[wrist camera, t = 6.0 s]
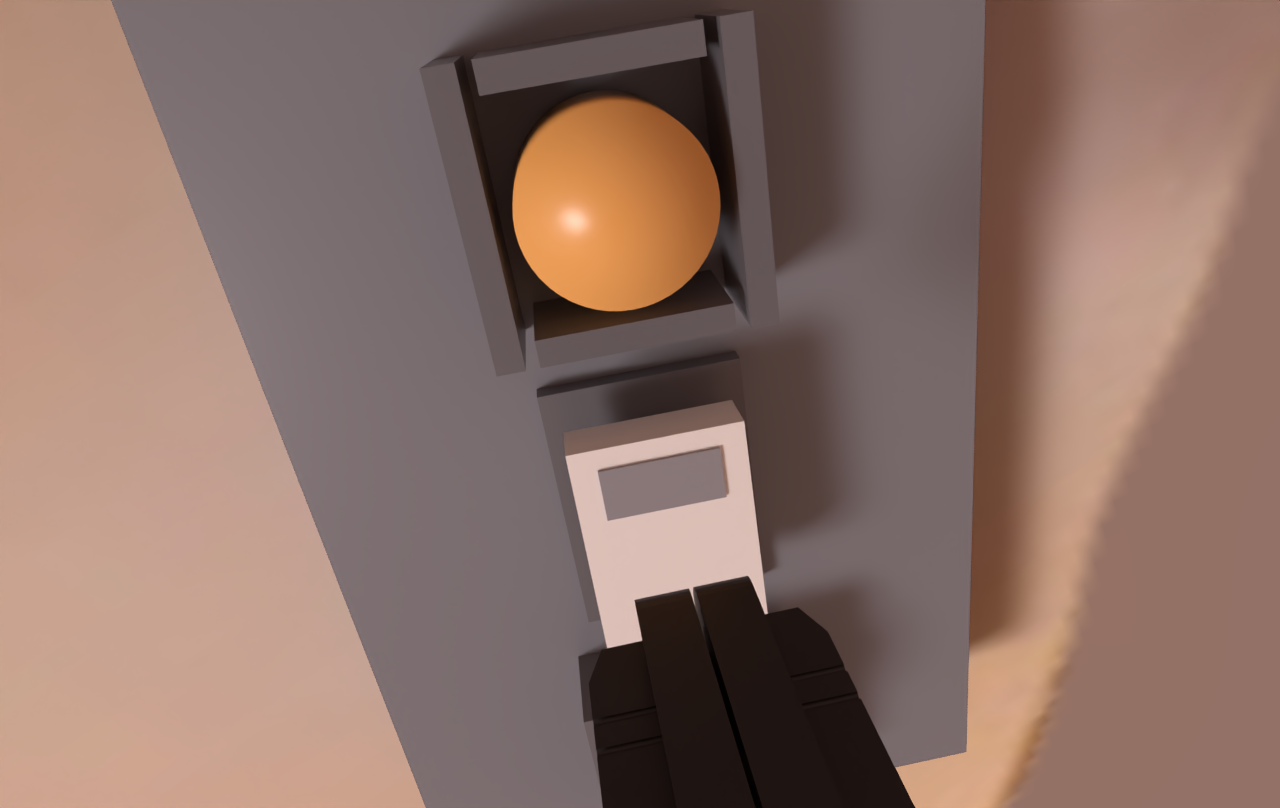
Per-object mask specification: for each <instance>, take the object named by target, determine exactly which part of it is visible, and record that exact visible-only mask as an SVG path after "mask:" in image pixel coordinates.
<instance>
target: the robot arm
mask: <svg viewBox="0 0 1280 808" xmlns="http://www.w3.org/2000/svg"><path fill="white" fill-rule="evenodd" d="M693 596H694V602H693V598H692V595H691V592H690V590H689V588H688V589H683V590H678V591H674V592H669V593H664V594H659V595H655V596H650V597H645V598H641V599H636V600H634V601H635V606H636V611H637V616H638V622H639V627H640V632H641V637H642V641H639V642H634V643H630V644H625V645H620V646H616V647H611V648H606V649H602V650H601V652H600V655H599V657H598V660H597V663H596V665H595V668H594V671H593V673H592V676H591V679H590V681H589V692H590V701H591V709H592V718H593V724H594V736H595V744H596V751H597V762H598V771H599V779H600V788H601V797H602V806H603V808H915V806H914V805H913V803H912V801H911V799H910V797H909V795H908V793H907V791H906V789H905V787H904V785H903V783H902V781H901V779H900V776H899V774H898V772H897V770H896V768H895V766H894V764H893V762H892V760H891V758H890V756H889V754H888V752H887V750H886V748H885V746H884V744H883V742H882V740H881V738H880V736H879V734H878V732H877V730H876V728H875V726H874V724H873V722H872V720H871V718H870V716H869V714H868V712H867V710H866V708H865V706H864V704H863V702H862V700H861V699H859V696H858V692H857V689H856V687H855V685H854V683H853V681H852V679H851V677H850V675H849V673H848V671H846V670H845V667H844V663H843V661H842V659H841V657H840V655H839V653H838V651H837V649H836V647H835V645H834V643H833V641H832V639H831V637H830V635H829V633H828V631H827V630H825V629H824V628H823V627H822V626H820V625H819V624H818V623H817V622H816V621H814V620H813V619H812V618H811V617H810V616H808V615H807V614H806V613H805V612H803V611H802V610H801V609H800V608H799V607H796V608H792V609H787V610H782V611H778V612H773V613H768V614H765V613H764V611H763V608H762V606H761V603H760V601H759V598H758V596H757V593H756V591H755V588H754V586H753V584H752V581H751V579H750V578H749V576H743V577H739V578H734V579H729V580H725V581H720V582H715V583H710V584H706V585H701V586H696V587H693ZM694 603H695V605H694Z"/></svg>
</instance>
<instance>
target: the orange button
mask: <svg viewBox="0 0 1280 808" xmlns="http://www.w3.org/2000/svg"><path fill="white" fill-rule="evenodd" d="M512 205H513V222H514V229H515V233H516V237H517V240H518V243H519V246H520V248H521V250H522V253H523V255H524V257H525V259H526V260H527V262H528V264H529V265H530V267H531V268H532V270H533V271H534V272H535V273H536V275H537V276H538V277H539V278H540V279H541V280H542V281H543V282H544V283H545V284H546V285H547V286H548V287H549V288H550V289H552V290H553V291H555V292H556V293H557V294H559V295H560V296H562V297H564V298H566V299H567V300H569V301H571V302H573V303H576V304H578V305H581V306H584V307H588V308H592V309H595V310H603V311H626V310H634V309H638V308H642V307H646V306H649V305H651V304H654V303H656V302H659V301H661V300H663V299H665V298H666V297H668V296H670V295H671V294H673V293H674V292H676V291H677V290H679V289H680V288H681V287H682V286H683V285H684V284H686V283H687V282H688V281H689V280H690V279H691V278H692V277H693V275H694V274H695V273H696V272H697V271H698V270H699V268H700V267H701V265H702V264H703V262H704V261H705V259H706V258H707V256H708V254H709V252H710V250H711V248H712V245H713V242H714V240H715V237H716V234H717V229H718V225H719V219H720V207H721V206H720V191H719V185H718V180H717V177H716V173H715V170H714V167H713V165H712V163H711V161H710V159H709V156H708V154H707V153H706V151H705V150H704V148H703V147H702V145H701V143H700V142H699V141H698V140H697V139H696V137H695V136H694V135H693V134H692V133H691V132H690V131H689V130H688V129H687V128H686V127H685V126H683V125H682V124H681V123H680V122H679V121H677V120H676V119H675V118H673V117H672V116H671V115H670V114H668V113H667V112H666V111H664V110H663V109H662V108H660V107H659V106H657V105H656V104H654V103H653V102H651V101H649V100H647V99H645V98H643V97H640V96H637V95H634V94H631V93H627V92H622V91H614V90H600V91H591V92H587V93H583V94H579V95H576V96H574V97H571V98H569V99H566V100H565V101H563V102H561V103H559V104H558V105H556V106H555V107H553V108H552V109H551V110H549V111H548V112H547V113H546V114H545V115H544V116H543V117H542V118H541V119H540V120H539V121H538V122H537V123H536V124H535V125H534V127H533V128H532V129H531V131H530V132H529V134H528V135H527V137H526V139H525V141H524V143H523V144H522V147H521V150H520V152H519V155H518V158H517V162H516V166H515V172H514V182H513V203H512Z"/></svg>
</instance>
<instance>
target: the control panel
mask: <svg viewBox="0 0 1280 808" xmlns="http://www.w3.org/2000/svg"><path fill="white" fill-rule="evenodd" d="M111 1H112V4H113V6H114V9H115V11H116V14H117V16H118V19H119V22H120V24H121V27H122V29H123V32H124V34H125V37H126V40H127V42H128V45H129V47H130V50H131V52H132V55H133V57H134V60H135V63H136V65H137V68H138V70H139V73H140V75H141V78H142V81H143V83H144V86H145V88H146V91H147V93H148V96H149V99H150V101H151V104H152V106H153V109H154V111H155V114H156V116H157V119H158V122H159V124H160V127H161V129H162V132H163V134H164V137H165V140H166V142H167V145H168V147H169V150H170V152H171V155H172V158H173V160H174V163H175V165H176V168H177V170H178V173H179V175H180V178H181V181H182V183H183V186H184V188H185V191H186V193H187V196H188V199H189V201H190V204H191V206H192V209H193V211H194V214H195V217H196V219H197V222H198V224H199V227H200V229H201V232H202V234H203V237H204V240H205V242H206V245H207V247H208V250H209V252H210V255H211V258H212V260H213V263H214V265H215V268H216V270H217V273H218V276H219V278H220V281H221V283H222V286H223V288H224V291H225V294H226V296H227V299H228V301H229V304H230V306H231V309H232V311H233V314H234V317H235V319H236V322H237V324H238V327H239V329H240V332H241V335H242V337H243V340H244V342H245V345H246V347H247V350H248V353H249V355H250V358H251V360H252V363H253V365H254V368H255V370H256V373H257V376H258V378H259V381H260V383H261V386H262V388H263V391H264V394H265V396H266V399H267V401H268V404H269V406H270V409H271V412H272V414H273V417H274V419H275V422H276V424H277V427H278V429H279V432H280V435H281V437H282V440H283V442H284V445H285V447H286V450H287V453H288V455H289V458H290V460H291V463H292V465H293V468H294V471H295V473H296V476H297V478H298V481H299V483H300V486H301V488H302V491H303V494H304V496H305V499H306V501H307V504H308V506H309V509H310V512H311V514H312V517H313V519H314V522H315V524H316V527H317V530H318V532H319V535H320V537H321V540H322V542H323V545H324V547H325V550H326V553H327V555H328V558H329V560H330V563H331V565H332V568H333V571H334V573H335V576H336V578H337V581H338V583H339V586H340V589H341V591H342V594H343V596H344V599H345V601H346V604H347V606H348V609H349V612H350V614H351V617H352V619H353V622H354V624H355V627H356V630H357V632H358V635H359V637H360V640H361V642H362V645H363V648H364V650H365V653H366V655H367V658H368V660H369V663H370V665H371V668H372V671H373V673H374V676H375V678H376V681H377V683H378V686H379V689H380V691H381V694H382V696H383V699H384V701H385V704H386V707H387V709H388V712H389V714H390V717H391V719H392V722H393V724H394V727H395V730H396V732H397V735H398V737H399V740H400V742H401V745H402V748H403V750H404V753H405V755H406V758H407V760H408V763H409V766H410V768H411V771H412V773H413V776H414V778H415V781H416V783H417V786H418V789H419V791H420V794H421V796H422V799H423V801H424V804H425V807H426V808H603V806H602V797H601V788H600V779H599V771H598V762H597V751H596V744H595V736H594V724H593V718H592V709H591V701H590V692H589V681H590V679H591V676H592V673H593V671H594V668H595V665H596V663H597V660H598V657H599V655H600V652H601V650H602V649H606V648H607V645H606V640H605V636H604V631H603V627H602V622H601V617H600V613H599V608H598V604H597V599H596V595H595V590H594V585H593V581H592V576H591V572H590V567H589V563H588V558H587V553H586V549H585V544H584V540H583V535H582V531H581V526H580V521H579V517H578V512H577V508H576V503H575V499H574V494H573V489H572V485H571V480H570V476H569V471H568V466H567V462H566V457H565V447H564V435H563V433H564V432H570V431H575V430H580V429H585V428H590V427H595V426H600V425H605V424H611V423H616V422H621V421H626V420H631V419H636V418H641V417H646V416H652V415H657V414H662V413H667V412H672V411H677V410H682V409H687V408H692V407H698V406H703V405H708V404H713V403H718V402H723V401H728V400H732V401H733V402H734V404H735V406H736V408H737V409H738V411H739V413H740V415H741V416H742V418H743V420H744V423H745V432H746V440H747V448H748V456H749V464H750V473H751V481H752V489H753V497H754V505H755V513H756V522H757V530H758V538H759V546H760V554H761V563H762V571H763V579H764V587H765V595H766V604H767V612H768V613H773V612H778V611H782V610H787V609H792V608H796V607H799V608H800V609H801V610H802V611H803V612H805V613H806V614H807V615H808V616H810V617H811V618H812V619H813V620H814V621H816V622H817V623H818V624H819V625H820V626H822V627H823V628H824V629H825V630H827V631H828V633H829V635H830V637H831V639H832V641H833V643H834V645H835V647H836V649H837V651H838V653H839V655H840V657H841V659H842V661H843V663H844V667H845V670H846V671H848V673H849V675H850V677H851V679H852V681H853V683H854V685H855V687H856V689H857V692H858V696H859V699H861V700H862V702H863V704H864V706H865V708H866V710H867V712H868V714H869V716H870V718H871V720H872V722H873V724H874V726H875V728H876V730H877V732H878V734H879V736H880V738H881V740H882V742H883V744H884V746H885V748H886V750H887V752H888V754H889V756H890V758H891V760H892V762H893V764H894V766H895V767H899V766H904V765H908V764H913V763H918V762H922V761H927V760H931V759H936V758H941V757H945V756H950V755H954V754H959V753H964V752H966V744H967V705H968V666H969V627H970V588H971V549H972V510H973V471H974V432H975V393H976V354H977V315H978V276H979V237H980V198H981V159H982V120H983V81H984V42H985V3H986V0H111ZM600 90H614V91H622V92H627V93H631V94H634V95H637V96H640V97H643V98H645V99H647V100H649V101H651V102H653V103H654V104H656V105H657V106H659V107H660V108H662V109H663V110H664V111H666V112H667V113H668V114H670V115H671V116H672V117H673V118H675V119H676V120H677V121H679V122H680V123H681V124H682V125H683V126H685V127H686V128H687V129H688V130H689V131H690V132H691V133H692V134H693V135H694V136H695V137H696V139H697V140H698V141H699V142H700V143H701V145H702V147H703V148H704V150H705V151H706V153H707V154H708V156H709V159H710V161H711V163H712V165H713V167H714V170H715V173H716V177H717V180H718V185H719V191H720V206H721V207H720V219H719V225H718V229H717V234H716V237H715V240H714V242H713V245H712V248H711V250H710V252H709V254H708V256H707V258H706V259H705V261H704V262H703V264H702V265H701V267H700V268H699V270H698V271H697V272H696V273H695V274H694V275H693V277H692V278H691V279H690V280H689V281H688V282H687V283H686V284H684V285H683V286H682V287H681V288H680V289H679V290H677V291H676V292H674V293H673V294H671V295H670V296H668V297H666V298H665V299H663V300H661V301H659V302H656V303H654V304H651V305H649V306H646V307H642V308H638V309H634V310H626V311H603V310H595V309H592V308H588V307H584V306H581V305H578V304H576V303H573V302H571V301H569V300H567V299H566V298H564V297H562V296H560V295H559V294H557V293H556V292H555V291H553V290H552V289H550V288H549V287H548V286H547V285H546V284H545V283H544V282H543V281H542V280H541V279H540V278H539V277H538V276H537V275H536V273H535V272H534V271H533V270H532V268H531V267H530V265H529V264H528V262H527V260H526V259H525V257H524V255H523V253H522V250H521V248H520V246H519V243H518V240H517V237H516V233H515V229H514V222H513V205H512V203H513V182H514V172H515V166H516V162H517V158H518V155H519V152H520V150H521V147H522V144H523V143H524V141H525V139H526V137H527V135H528V134H529V132H530V131H531V129H532V128H533V127H534V125H535V124H536V123H537V122H538V121H539V120H540V119H541V118H542V117H543V116H544V115H545V114H546V113H547V112H548V111H549V110H551V109H552V108H553V107H555V106H556V105H558V104H559V103H561V102H563V101H565V100H566V99H569V98H571V97H574V96H576V95H579V94H583V93H587V92H591V91H600Z"/></svg>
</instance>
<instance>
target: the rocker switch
mask: <svg viewBox="0 0 1280 808" xmlns="http://www.w3.org/2000/svg"><path fill="white" fill-rule="evenodd" d="M563 435H564V447H565V457H566V462H567V466H568V471H569V476H570V480H571V485H572V489H573V494H574V499H575V503H576V508H577V512H578V517H579V521H580V526H581V531H582V535H583V540H584V544H585V549H586V553H587V558H588V563H589V567H590V572H591V576H592V581H593V585H594V590H595V595H596V599H597V604H598V608H599V613H600V617H601V622H602V627H603V631H604V636H605V640H606V645H607V648H611V647H616V646H620V645H625V644H630V643H634V642H639V641H642V637H641V632H640V627H639V622H638V616H637V611H636V606H635V601H634V600H636V599H641V598H645V597H650V596H655V595H659V594H664V593H669V592H674V591H678V590H683V589H688V588H689V590H690V592H691V595H692V598H693V602H694V596H693V587H696V586H701V585H706V584H710V583H715V582H720V581H725V580H729V579H734V578H739V577H743V576H749V578H750V579H751V581H752V584H753V586H754V588H755V591H756V593H757V596H758V598H759V601H760V603H761V606H762V608H763V611H764V613H765V614H768V612H767V604H766V595H765V587H764V579H763V571H762V563H761V554H760V546H759V538H758V530H757V522H756V513H755V505H754V497H753V489H752V481H751V473H750V464H749V456H748V448H747V440H746V432H745V423H744V420H743V418H742V416H741V415H740V413H739V411H738V409H737V408H736V406H735V404H734V402H733V401H732V400H728V401H723V402H718V403H713V404H708V405H703V406H698V407H692V408H687V409H682V410H677V411H672V412H667V413H662V414H657V415H652V416H646V417H641V418H636V419H631V420H626V421H621V422H616V423H611V424H605V425H600V426H595V427H590V428H585V429H580V430H575V431H570V432H564V433H563ZM694 605H695V603H694Z"/></svg>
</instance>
